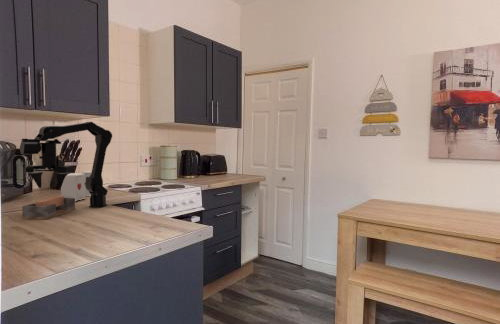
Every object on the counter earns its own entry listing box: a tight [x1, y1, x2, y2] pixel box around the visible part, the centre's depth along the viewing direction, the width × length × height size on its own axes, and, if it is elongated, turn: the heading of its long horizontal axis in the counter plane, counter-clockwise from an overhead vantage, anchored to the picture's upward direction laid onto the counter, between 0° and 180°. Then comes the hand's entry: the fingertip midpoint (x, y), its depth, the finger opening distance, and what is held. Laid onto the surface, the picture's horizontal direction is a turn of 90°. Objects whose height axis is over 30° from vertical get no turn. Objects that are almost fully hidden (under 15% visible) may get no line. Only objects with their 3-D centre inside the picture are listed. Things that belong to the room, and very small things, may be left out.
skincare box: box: [81, 170, 92, 196], centre depth 187 cm, size 8×6×15 cm
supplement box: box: [60, 172, 86, 200], centre depth 172 cm, size 9×9×15 cm
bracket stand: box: [21, 198, 76, 221], centre depth 142 cm, size 10×20×6 cm, turn 178°
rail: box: [35, 195, 64, 207], centre depth 142 cm, size 14×4×4 cm, turn 178°
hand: (49, 188), depth 141 cm, fingers open, 9 cm apart
